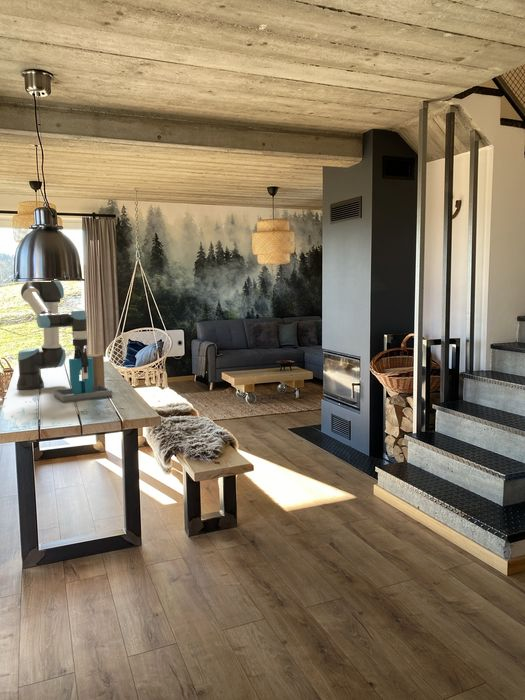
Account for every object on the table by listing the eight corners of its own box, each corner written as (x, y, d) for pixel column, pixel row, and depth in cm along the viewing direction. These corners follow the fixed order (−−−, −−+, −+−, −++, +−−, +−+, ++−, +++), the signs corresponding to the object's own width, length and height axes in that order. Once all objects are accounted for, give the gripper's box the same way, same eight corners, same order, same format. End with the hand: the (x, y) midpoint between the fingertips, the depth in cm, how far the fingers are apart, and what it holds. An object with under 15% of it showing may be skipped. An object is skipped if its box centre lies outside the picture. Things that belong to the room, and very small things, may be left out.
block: (93, 392, 313) (91, 357, 310) (94, 394, 308) (93, 358, 306) (70, 395, 307) (68, 359, 305) (72, 396, 303) (70, 360, 300)
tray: (54, 396, 309) (53, 390, 309) (100, 390, 323) (100, 385, 323) (63, 402, 292) (63, 396, 292) (112, 396, 307) (111, 390, 306)
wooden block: (97, 390, 325) (95, 356, 323) (81, 389, 327) (79, 356, 325) (105, 387, 335) (103, 354, 332) (90, 386, 337) (88, 353, 334)
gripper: (66, 336, 312) (68, 374, 315) (79, 341, 291) (81, 381, 294) (80, 336, 316) (82, 372, 319) (93, 340, 296) (95, 379, 298)
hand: (81, 376), depth 307 cm, fingers open, 13 cm apart
